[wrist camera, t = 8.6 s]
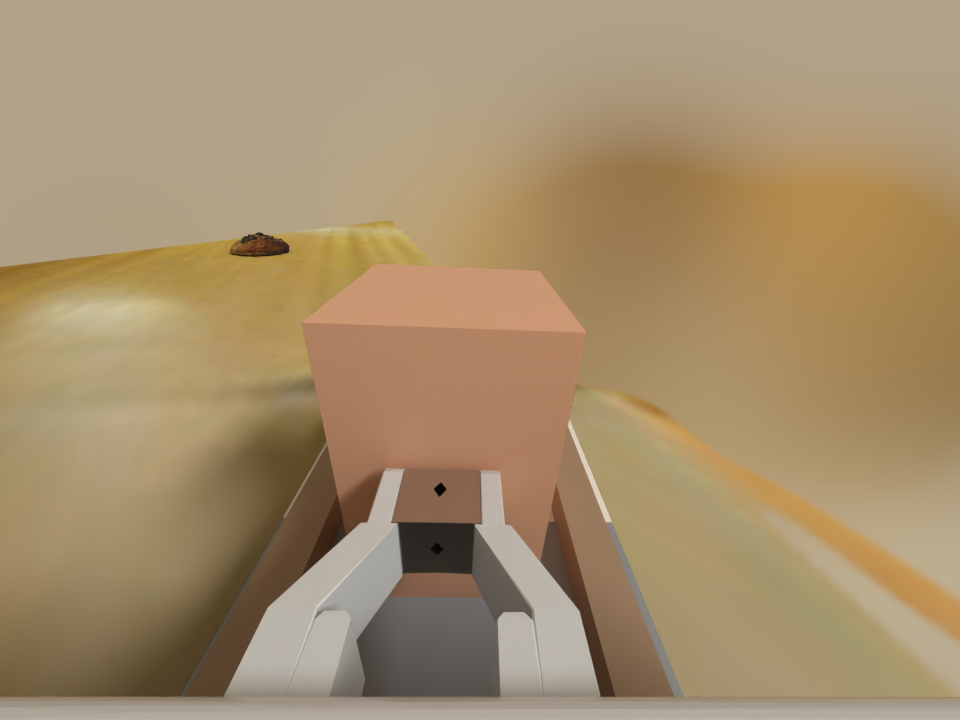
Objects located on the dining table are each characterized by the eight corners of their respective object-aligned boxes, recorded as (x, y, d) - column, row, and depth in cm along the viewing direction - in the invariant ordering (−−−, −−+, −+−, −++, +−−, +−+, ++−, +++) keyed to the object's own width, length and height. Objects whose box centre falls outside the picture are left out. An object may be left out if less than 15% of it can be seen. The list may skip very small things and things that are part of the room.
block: (359, 596, 12) (301, 322, 7) (395, 467, 17) (376, 263, 12) (533, 598, 12) (586, 332, 7) (514, 469, 17) (538, 270, 13)
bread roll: (292, 255, 72) (283, 230, 70) (232, 265, 68) (221, 239, 65) (289, 248, 81) (281, 226, 78) (236, 257, 77) (226, 234, 74)
